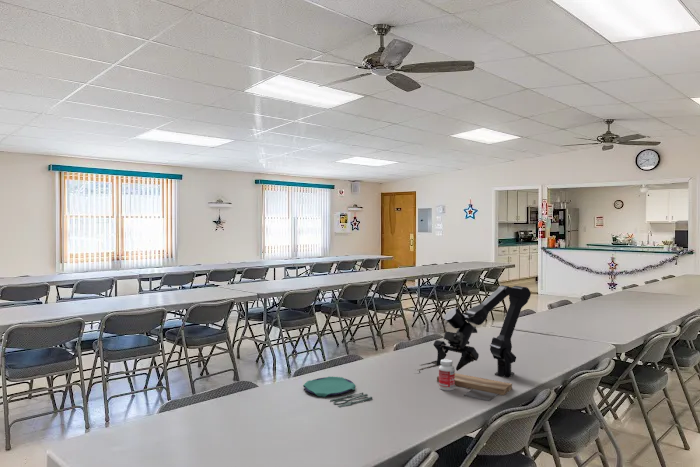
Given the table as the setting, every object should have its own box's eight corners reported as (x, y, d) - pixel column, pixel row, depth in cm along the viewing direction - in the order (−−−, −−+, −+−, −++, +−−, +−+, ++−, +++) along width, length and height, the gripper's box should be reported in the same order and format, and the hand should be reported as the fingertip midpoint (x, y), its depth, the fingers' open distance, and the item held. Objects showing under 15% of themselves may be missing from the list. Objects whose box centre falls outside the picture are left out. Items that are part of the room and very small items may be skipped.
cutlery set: (339, 378, 207) (338, 373, 207) (377, 400, 181) (377, 394, 181) (296, 387, 197) (296, 381, 197) (331, 412, 171) (330, 405, 171)
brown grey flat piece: (447, 376, 207) (447, 371, 207) (512, 388, 190) (512, 383, 190) (426, 387, 193) (426, 382, 193) (494, 402, 176) (494, 396, 176)
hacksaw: (441, 361, 232) (441, 358, 232) (456, 366, 223) (456, 363, 223) (401, 369, 220) (401, 366, 220) (415, 375, 211) (415, 371, 211)
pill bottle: (452, 391, 187) (451, 363, 187) (436, 389, 190) (436, 361, 190) (456, 387, 193) (456, 359, 193) (442, 384, 196) (441, 357, 196)
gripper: (435, 320, 202) (419, 351, 195) (474, 326, 188) (458, 360, 181) (447, 336, 208) (431, 367, 200) (485, 343, 194) (470, 377, 186)
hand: (446, 367), depth 192 cm, fingers open, 9 cm apart
